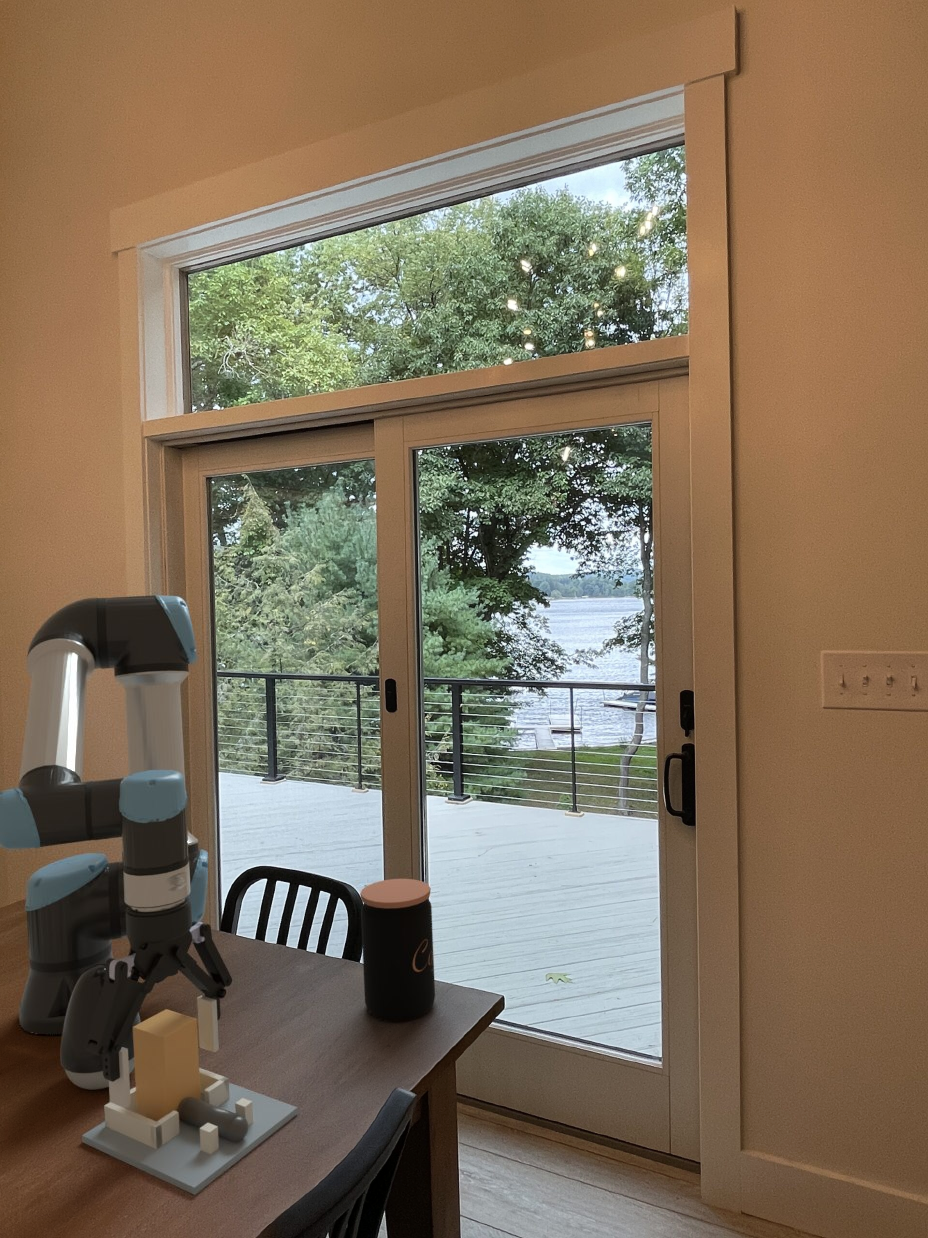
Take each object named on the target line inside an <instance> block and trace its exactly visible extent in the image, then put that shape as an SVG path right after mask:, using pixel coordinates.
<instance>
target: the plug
mask: <svg viewBox="0 0 928 1238" xmlns="http://www.w3.org/2000/svg"><path fill="white" fill-rule="evenodd" d="M133 1042H134V1062H135V1068H134V1079H135V1087H136V1101H137V1114H140V1115H142V1116H144V1117H147V1118H149V1119H151V1120H154V1121H156V1122H157V1121H158V1120H160V1119H161V1118H163V1117H164V1116H166V1115H167V1114H169V1113H171V1112H172V1111H177V1112H179V1122H180V1121H184V1122H187V1123H189V1124H192V1125H194V1126H197V1127H199V1128H201V1127H202V1126H204V1125H205V1124H206V1123H210V1124H213V1125H215V1126H218V1136H221V1137H223V1138H226V1139H228V1140H231V1141H234V1142H236V1141H240V1140H242V1139H243V1138H244V1137H245V1136H246V1134H247V1132H248V1128H249V1126H248V1122H247V1120H246V1118H244V1117H243V1116H241V1115H238V1114H235V1113H233V1112H230V1111H228V1110H225V1109H222V1108H220V1107H217V1106H215V1105H212V1104H210V1103H207V1102H204V1101H202V1100H201V1094H200V1073H199V1068H200V1058H199V1056H200V1055H199V1032H198V1018H196V1017H193V1016H190V1015H186V1014H183V1013H180V1012H176V1011H173V1010H170V1009H167V1008H166V1009H164V1010H162V1011H160V1012H158V1013H157V1014H155V1015H152V1016H151V1017H149V1018H147V1019H145V1020H143V1021H141V1023H139V1024H138V1025H136V1026H134V1027H133Z"/></svg>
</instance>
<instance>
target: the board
mask: <svg viewBox="0 0 928 1238" xmlns="http://www.w3.org/2000/svg"><path fill="white" fill-rule="evenodd" d="M199 1073H200V1094H201V1100H202V1101H204V1102H207V1103H210V1104H212V1105H215V1106H217V1107H220V1108H222V1109H225V1110H228V1111H230V1112H233V1113H235V1114H238V1115H241V1116H243V1117H244V1118H246V1120H247V1122H248V1126H249V1128H248V1132H247V1134H246V1136H245V1137H244V1138H243V1139H242V1140H240V1141H236V1142H234V1141H231V1140H228V1139H226V1138H223V1137H221V1136H218V1126H215V1125H213V1124H210V1123H206V1124H205V1125H204V1126H202V1127H201V1128H199V1127H197V1126H194V1125H192V1124H189V1123H187V1122H184V1121H180V1122H179V1112H177V1111H172V1112H171V1113H169V1114H167V1115H166V1116H164V1117H163V1118H161V1119H160V1120H158V1121H157V1122H156V1121H154V1120H151V1119H149V1118H147V1117H144V1116H142V1115H140V1114H137V1101H136V1086H135V1087H132V1088H130V1101H131V1105H130V1106H128V1107H126V1108H123V1107H121V1106H119V1105H116V1104H114V1103H111V1102H110V1101H109V1102H108V1103H106V1104H105V1105H104V1106H103V1108H104V1120H103V1122H101V1123H100V1124H98V1125H96V1126H95V1127H93V1128H91V1129H90V1130H88V1131H86V1132H85V1133H84V1134H82V1135H81V1140H82V1144H83V1143H84V1144H86V1145H87V1146H90V1147H92V1148H94V1149H96V1150H98V1151H100V1152H103V1153H105V1154H107V1155H108V1156H111V1157H113V1158H115V1159H117V1160H119V1161H121V1162H124V1163H126V1164H128V1165H130V1166H132V1167H135V1168H137V1169H138V1170H141V1171H143V1172H145V1173H147V1174H149V1175H151V1176H153V1177H156V1178H158V1179H159V1180H161V1181H164V1182H166V1183H169V1184H170V1185H172V1186H175V1187H177V1188H179V1189H181V1190H183V1191H186V1192H187V1193H189V1194H192V1195H193V1196H196V1195H197V1194H198V1193H200V1192H201V1191H202V1190H203V1189H205V1188H206V1187H207V1186H208V1185H210V1184H211V1183H212V1182H213V1181H215V1180H216V1179H217V1178H218V1177H220V1176H221V1175H223V1174H224V1173H225V1172H226V1171H228V1170H229V1169H230V1168H231V1167H232V1166H234V1165H235V1164H236V1163H238V1162H239V1161H240V1160H241V1159H243V1158H244V1157H245V1156H246V1155H247V1154H249V1153H250V1152H252V1151H253V1150H254V1149H255V1148H257V1147H258V1146H259V1145H260V1144H261V1143H264V1141H266V1139H268V1138H269V1137H271V1135H273V1134H274V1133H276V1132H277V1131H278V1130H279V1129H281V1128H282V1127H284V1125H286V1124H287V1123H288V1122H289V1121H291V1120H292V1119H293V1118H294V1117H296V1116H297V1115H299V1112H298V1111H299V1110H298V1109H299V1108H298V1106H294V1105H292V1104H289V1103H287V1102H284V1101H282V1100H280V1099H279V1100H278V1099H275V1098H273V1097H269V1096H267V1095H265V1094H262V1093H259V1092H256V1091H253V1090H250V1089H247V1088H246V1087H243V1086H240V1085H237V1084H233V1083H231V1082H230V1079H229V1078H228V1077H227V1076H223V1075H220V1074H219V1073H218V1074H217V1073H216V1072H212V1071H209V1070H207V1069H203V1068H201V1067H199Z"/></svg>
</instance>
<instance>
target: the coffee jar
mask: <svg viewBox="0 0 928 1238" xmlns="http://www.w3.org/2000/svg"><path fill="white" fill-rule="evenodd" d="M359 895H360V899H361V902H362V903H363V904H362V907H361V909H360V916H361V917H360V918H361V919H360V920H361V939H362V942H361V944H362V967H363V968H362V969H363V988H364V991H363V992H364V1003H365V1006H366V1008H367V1010H368V1011H369V1012H370V1014H371V1015H372V1016H373V1017H374V1018H375V1019H377V1020H380V1019H381V1020H380V1021H384V1022H389V1021H390V1022H391V1023H404V1022H408V1020H409V1021H413V1020H415V1019H418V1018H421V1017H423V1016H424V1015H425V1014H427V1013H428V1012H429V1011H430V1009H432V1006H433V1005H434V1002H435V998H436V991H435V990H436V989H435V987H436V986H435V985H436V984H435V982H436V981H435V962H434V959H435V958H434V937H433V936H434V935H433V934H434V933H433V915H432V914H433V911H432V910H433V909H432V902H431V901H430V899H429V898H430V896H431V886H430V885H429V884H428V883H426V882H424V881H421V880H417V879H412V878H411V879H410V878H391V879H384V880H380V881H376V882H372V883H371V884H368V885H366V886H364V887H363V888H362V889H361V891H360V894H359ZM390 1022H389V1023H390Z"/></svg>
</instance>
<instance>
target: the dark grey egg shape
mask: <svg viewBox="0 0 928 1238" xmlns="http://www.w3.org/2000/svg"><path fill="white" fill-rule="evenodd" d="M104 981H105V964H97V965H94V966H92V967H90V968H88V969H87V970H86V971H84V972H83V974H82V975H81V976H80V978H79V979H78V981H77V983H76V985H75V987H74V989H73V992H72V994H71V997H70V1000H69V1004H68V1007H67V1011H66V1015H65V1020H64V1025H63V1031H62V1034H61V1038H60V1039H61V1041H60V1049H59V1052H60V1053H59V1054H60V1055H59V1057H60V1058H59V1060H60V1061H59V1062H60V1065H61V1067H62V1068H63V1069H64V1071H65V1073H66V1076H67V1078H68V1079H69V1080H70V1082H72V1084H73V1085H75V1086H77V1087H79V1088H81V1089H85V1090H101V1089H106V1088H109V1080H107V1079H105V1078H104V1076H103V1064H102V1056H99V1055H97V1054H94V1053H91V1052H89V1051H86V1050H85V1043H86V1040H87V1036H88V1033H89V1030H90V1027H91V1023H92V1020H93V1017H94V1014H95V1010H96V1007H97V1004H98V1001H99V997H100V994H101V991H102V988H103V985H104ZM141 1022H142V1021H141V1017H140V1013H139V1012H138V1014H137V1016H136V1018H135V1020H134V1022H133V1024H132V1026H131V1029H130V1031H129V1033H128V1035H127V1037H126V1039H125V1041H124V1043H123V1046H122V1047H124V1048H127V1049H128V1062H129V1075H130V1074H131V1073H132V1072H133V1070H135V1062H134V1042H133V1027H134V1026H136V1025H138V1024H139V1023H141ZM112 1040H114V1037H113V1039H112Z"/></svg>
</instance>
